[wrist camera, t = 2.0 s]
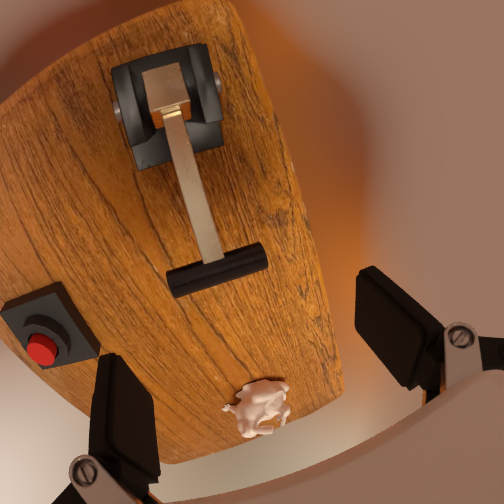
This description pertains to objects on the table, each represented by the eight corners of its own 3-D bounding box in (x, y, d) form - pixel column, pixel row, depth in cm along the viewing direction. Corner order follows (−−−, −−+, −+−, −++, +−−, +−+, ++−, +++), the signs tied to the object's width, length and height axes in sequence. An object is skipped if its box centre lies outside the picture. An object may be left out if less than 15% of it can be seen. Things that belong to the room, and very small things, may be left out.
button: (42, 357, 25) (39, 367, 24) (25, 335, 23) (21, 346, 22) (62, 352, 26) (60, 363, 24) (45, 329, 24) (42, 340, 22)
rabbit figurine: (222, 411, 43) (236, 458, 35) (206, 390, 40) (219, 443, 31) (287, 386, 45) (309, 430, 37) (278, 362, 41) (303, 412, 33)
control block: (45, 358, 29) (39, 379, 26) (5, 302, 24) (-7, 322, 21) (100, 344, 31) (97, 367, 27) (60, 281, 26) (50, 302, 23)
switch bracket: (222, 144, 25) (262, 163, 15) (139, 169, 24) (119, 206, 14) (199, 45, 20) (225, -4, 10) (113, 70, 19) (75, 37, 9)
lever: (262, 266, 16) (273, 270, 14) (177, 294, 15) (172, 303, 13) (203, 76, 15) (205, 55, 13) (125, 99, 14) (116, 80, 12)
